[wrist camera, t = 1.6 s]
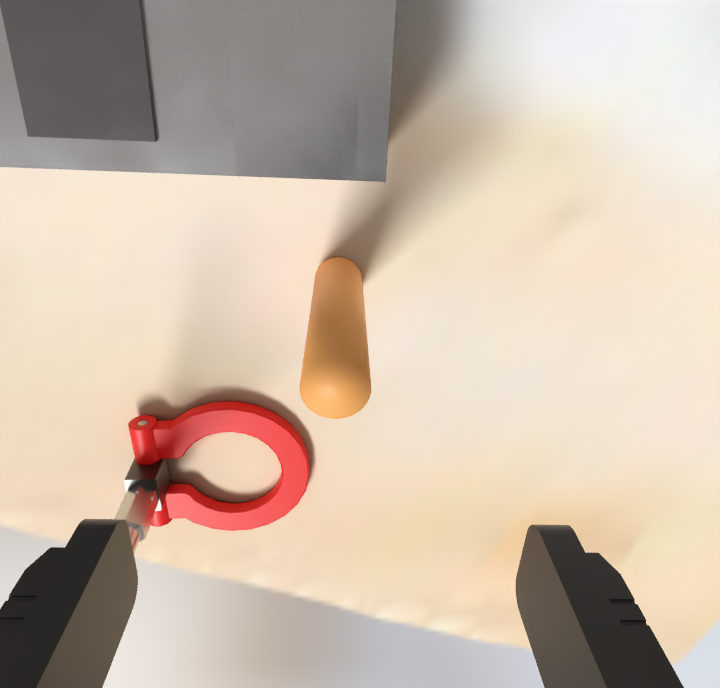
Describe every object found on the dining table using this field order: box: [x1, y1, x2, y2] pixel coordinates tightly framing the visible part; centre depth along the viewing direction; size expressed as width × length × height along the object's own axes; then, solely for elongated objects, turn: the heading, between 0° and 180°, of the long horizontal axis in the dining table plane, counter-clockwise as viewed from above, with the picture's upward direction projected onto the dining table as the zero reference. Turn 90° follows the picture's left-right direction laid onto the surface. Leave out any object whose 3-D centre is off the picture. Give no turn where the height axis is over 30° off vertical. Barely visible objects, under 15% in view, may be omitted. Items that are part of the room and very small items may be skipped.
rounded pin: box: [300, 257, 371, 419], centre depth 21 cm, size 2×2×10 cm
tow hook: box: [115, 401, 309, 553], centre depth 25 cm, size 8×13×9 cm
